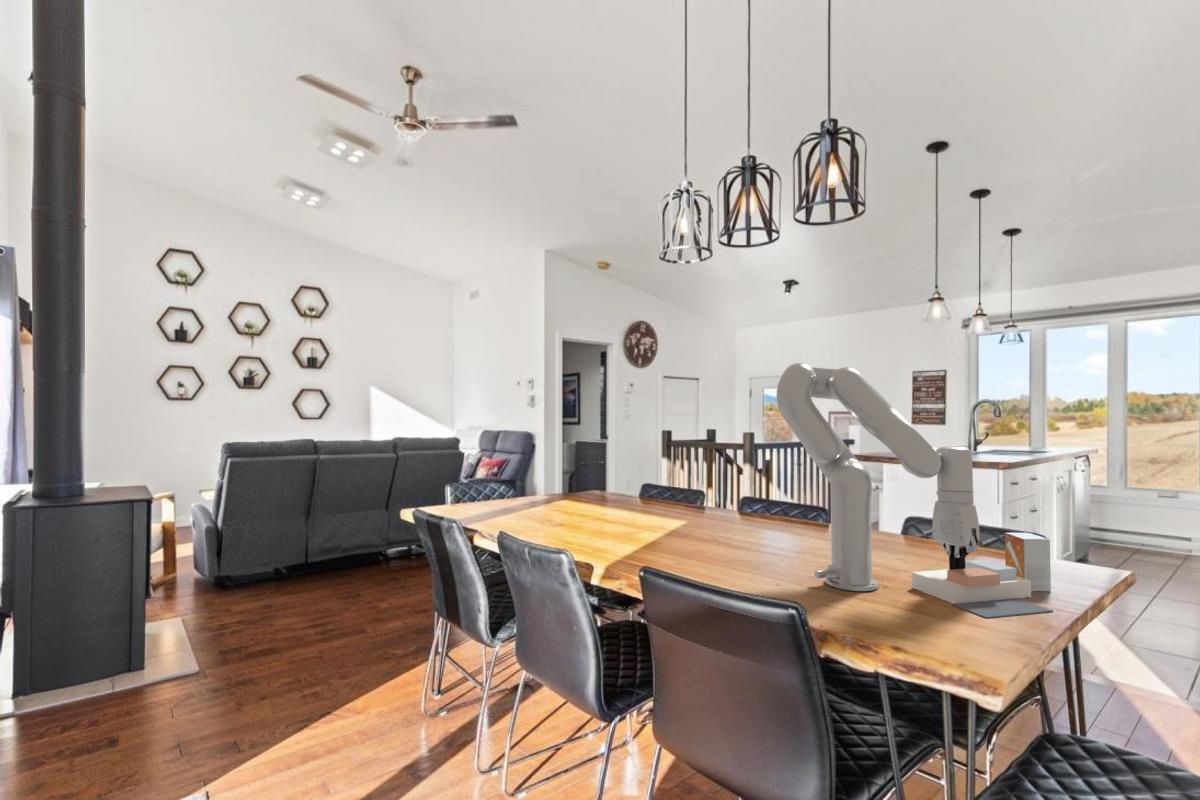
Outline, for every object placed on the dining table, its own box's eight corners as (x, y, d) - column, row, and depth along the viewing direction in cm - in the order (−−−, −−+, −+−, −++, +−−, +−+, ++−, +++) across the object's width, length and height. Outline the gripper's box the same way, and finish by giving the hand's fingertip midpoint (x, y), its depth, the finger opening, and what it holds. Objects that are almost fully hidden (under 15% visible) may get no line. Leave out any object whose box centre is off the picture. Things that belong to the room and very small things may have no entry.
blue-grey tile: (1016, 578, 142) (1016, 568, 142) (995, 580, 141) (995, 569, 141) (984, 569, 151) (984, 559, 151) (964, 570, 150) (964, 560, 150)
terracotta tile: (968, 587, 135) (968, 576, 135) (947, 580, 141) (947, 569, 141) (1000, 584, 137) (1000, 574, 137) (978, 577, 143) (978, 567, 143)
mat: (985, 618, 126) (985, 617, 126) (952, 605, 135) (952, 603, 135) (1053, 611, 130) (1053, 610, 130) (1016, 599, 139) (1016, 598, 139)
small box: (1005, 582, 153) (1004, 532, 154) (1030, 582, 153) (1029, 532, 153) (1024, 591, 145) (1023, 538, 146) (1051, 592, 145) (1050, 539, 145)
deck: (954, 604, 136) (953, 586, 136) (912, 588, 148) (911, 572, 149) (1031, 597, 141) (1030, 580, 141) (984, 582, 153) (984, 566, 154)
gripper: (919, 494, 151) (921, 566, 150) (968, 502, 136) (971, 582, 136) (943, 493, 152) (945, 564, 152) (994, 500, 138) (997, 579, 137)
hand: (957, 572), depth 144 cm, fingers closed
